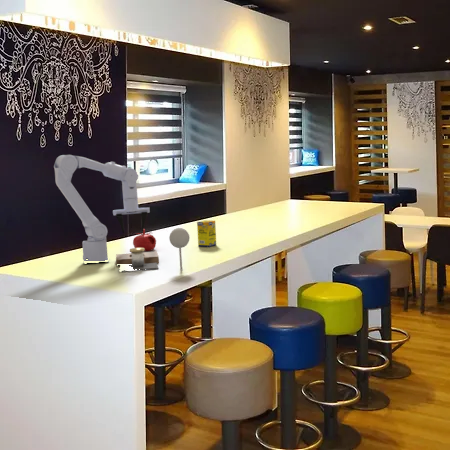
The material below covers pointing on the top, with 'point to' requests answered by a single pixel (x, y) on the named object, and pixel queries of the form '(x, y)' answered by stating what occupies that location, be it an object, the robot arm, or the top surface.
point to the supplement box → (206, 233)
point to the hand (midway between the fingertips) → (133, 231)
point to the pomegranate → (144, 241)
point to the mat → (147, 266)
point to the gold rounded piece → (137, 257)
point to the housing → (127, 258)
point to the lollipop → (179, 240)
